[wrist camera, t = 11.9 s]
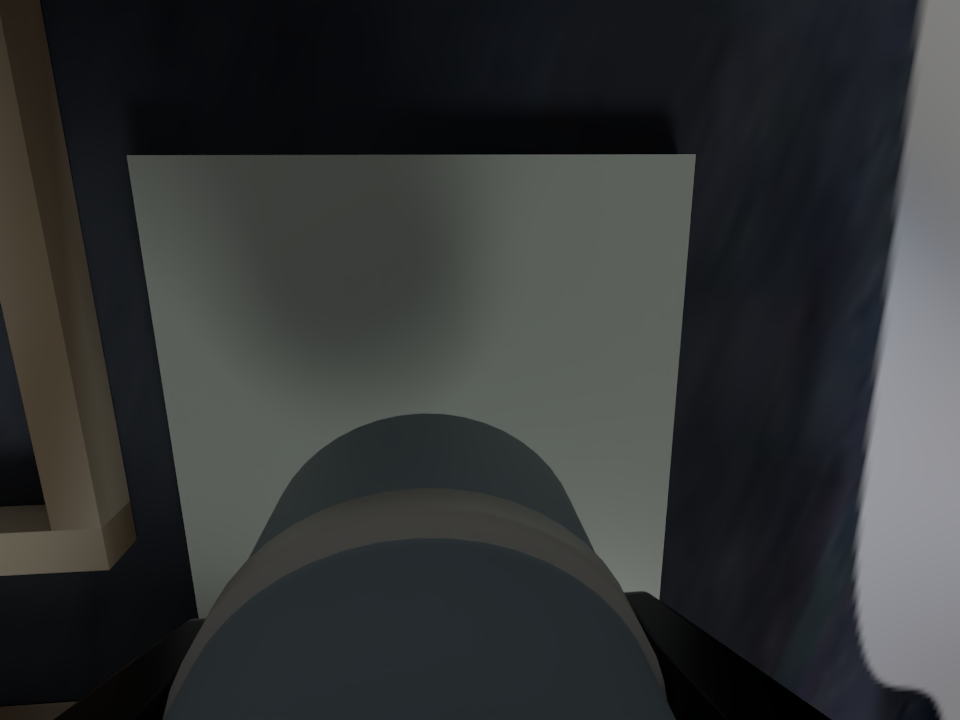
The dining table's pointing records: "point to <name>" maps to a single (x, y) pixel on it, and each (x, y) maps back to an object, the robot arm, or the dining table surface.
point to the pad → (416, 324)
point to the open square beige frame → (52, 327)
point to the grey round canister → (422, 594)
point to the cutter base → (34, 711)
